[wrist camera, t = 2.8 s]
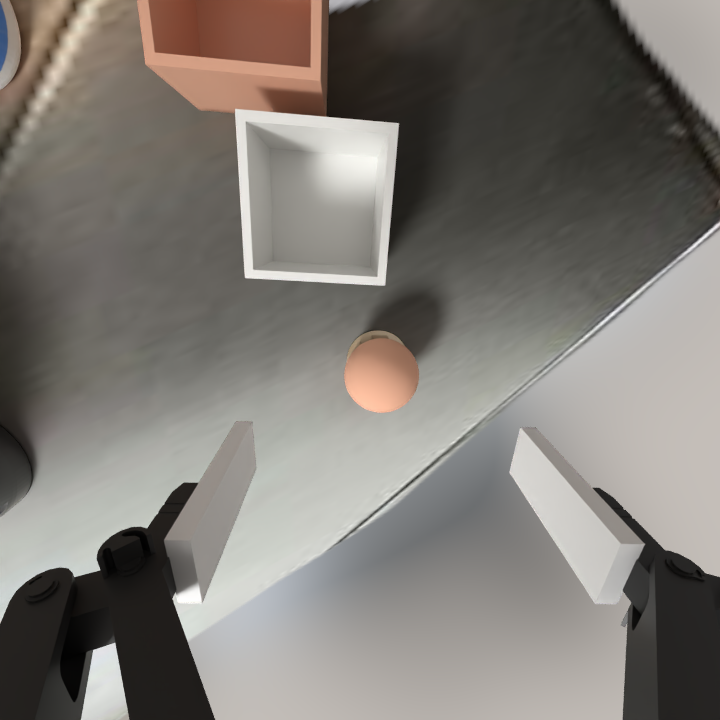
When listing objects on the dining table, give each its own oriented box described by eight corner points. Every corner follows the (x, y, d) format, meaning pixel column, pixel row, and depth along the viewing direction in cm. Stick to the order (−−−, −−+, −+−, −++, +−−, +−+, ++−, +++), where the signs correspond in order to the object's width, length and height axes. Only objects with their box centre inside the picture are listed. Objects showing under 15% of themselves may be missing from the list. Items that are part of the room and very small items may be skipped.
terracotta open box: (326, 121, 28) (320, 80, 20) (199, 110, 27) (145, 64, 20) (330, -47, 24) (324, -171, 17) (184, -65, 24) (110, -202, 16)
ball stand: (403, 387, 37) (405, 392, 36) (345, 385, 37) (345, 390, 35) (410, 331, 35) (412, 335, 33) (348, 328, 34) (348, 332, 33)
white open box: (375, 273, 32) (385, 285, 25) (268, 266, 32) (245, 277, 24) (384, 151, 29) (399, 123, 21) (263, 141, 28) (235, 108, 21)
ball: (407, 392, 36) (421, 428, 30) (342, 390, 36) (342, 426, 29) (414, 330, 34) (431, 354, 27) (345, 327, 34) (346, 351, 27)
